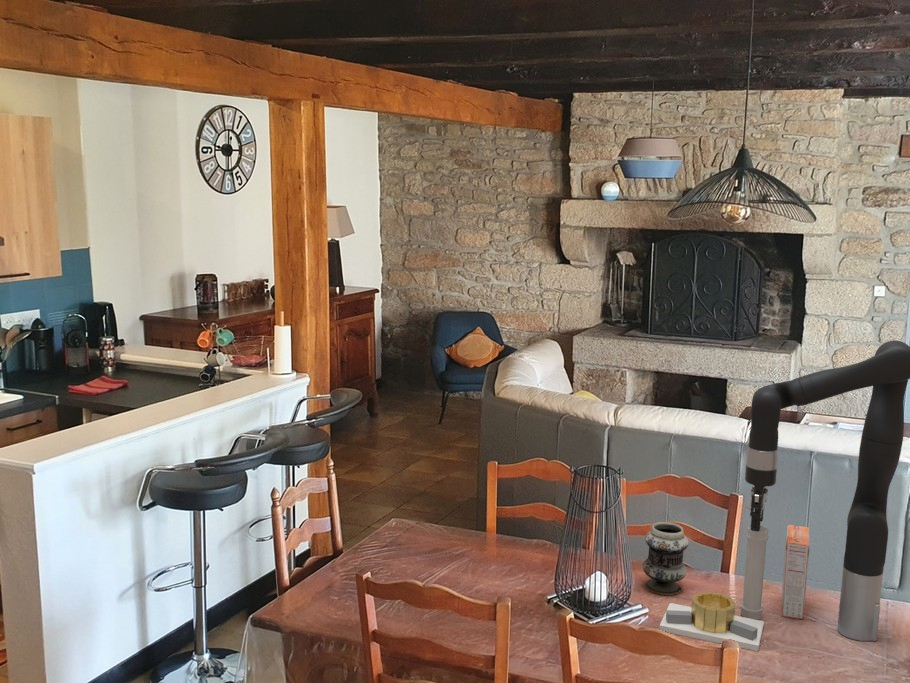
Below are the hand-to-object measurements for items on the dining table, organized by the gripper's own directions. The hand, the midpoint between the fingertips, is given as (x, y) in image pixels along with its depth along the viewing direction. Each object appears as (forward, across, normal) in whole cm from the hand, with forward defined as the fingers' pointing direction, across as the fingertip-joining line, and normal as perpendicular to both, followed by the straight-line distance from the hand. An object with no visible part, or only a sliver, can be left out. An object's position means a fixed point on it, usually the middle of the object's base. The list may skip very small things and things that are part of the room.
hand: (756, 525), depth 238 cm
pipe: (+25, 0, 0) cm, 25 cm away
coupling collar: (+24, -12, +8) cm, 28 cm away
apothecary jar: (+25, +7, +24) cm, 36 cm away
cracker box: (+25, +10, -10) cm, 29 cm away
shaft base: (+25, -12, +8) cm, 29 cm away
